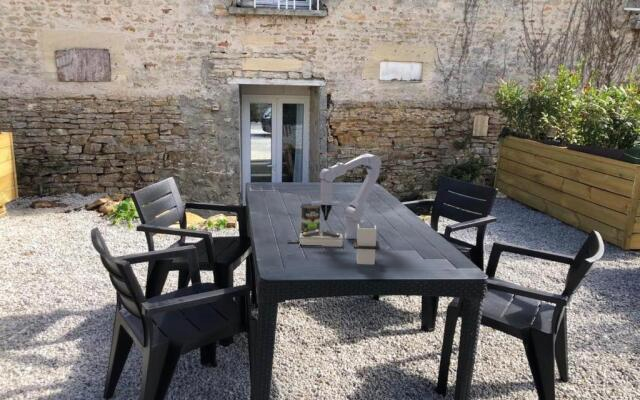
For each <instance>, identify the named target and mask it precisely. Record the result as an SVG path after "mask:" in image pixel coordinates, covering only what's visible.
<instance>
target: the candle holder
mask: <svg viewBox="0 0 640 400" xmlns="http://www.w3.org/2000/svg"><path fill="white" fill-rule="evenodd" d="M352 244H353V249H355V250H356V263H357V265H375V264H376V263H375V261H376V250H380V248H381V246H380V243H379V241H378V240H377V226H376V224H373V228H371V227H370V228H367V227H366V228H365V227H364V228H359V224H358V226H357V239H352Z"/></svg>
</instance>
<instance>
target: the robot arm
mask: <svg viewBox="0 0 640 400" xmlns="http://www.w3.org/2000/svg"><path fill="white" fill-rule="evenodd" d="M382 163H383V162H382V159H381V157H380V156H379V155H377V154H371V153H369V152H366V153H363V154H361V155H359V156H357V157H355V158H353V159H351V160H349V161H347V162H346V163H343V162H337V163H336V164H335V165H332V166H328V168H323V169H321V171H320V172H319V174H318V177H319V178H320V200H315V201H311V204H312V206H320V210H321V212H322V214H323V218H324V219H323V221H328V218H329V214H330V212H331V210H332V207H341V206H342V202H341V201H336V200H335V201H334V200H333V181H334V180H335V179H337V178H338V177H340V176H343V175H346V173H347V171H348V170H351V169H353V168H356V167H359V166H363V167H364V168H365V169H366V171H367V175H366V177H365V179H364V180H363V183H362V184H361V186H360V188H359V190H358V192H357V194H356V195H355V198H354V200H351V202H349V204H348V205H347V206H346V207H345V208H344V211H343V214H344V215H345V233H344V239H349V240H350V239H352V240H357V226H358V224H359V228H365V221H364V219H363V220H362V218H363V215H364V211H365V208H364V207H365V206H364V205H365V203H366V201H367V199H368V197H369V195H370V193H371V191H372V190H373V187H374V186H375V184H376V182H377V180H378V178H379V176H380V171H381V166H382Z"/></svg>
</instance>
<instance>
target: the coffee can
mask: <svg viewBox="0 0 640 400" xmlns="http://www.w3.org/2000/svg"><path fill="white" fill-rule="evenodd" d="M300 211H301V212H300V232H301V231H303V232H308V231H313V230H317V229H319V231H321V230H320V228H321V206H312V203H305V204H301V205H300Z"/></svg>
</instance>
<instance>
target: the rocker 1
mask: <svg viewBox="0 0 640 400" xmlns="http://www.w3.org/2000/svg"><path fill="white" fill-rule="evenodd" d="M320 234H321V232H319V229H317V230H313V231H308V232H304V233H303V237H311V236H315V235H320Z"/></svg>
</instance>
